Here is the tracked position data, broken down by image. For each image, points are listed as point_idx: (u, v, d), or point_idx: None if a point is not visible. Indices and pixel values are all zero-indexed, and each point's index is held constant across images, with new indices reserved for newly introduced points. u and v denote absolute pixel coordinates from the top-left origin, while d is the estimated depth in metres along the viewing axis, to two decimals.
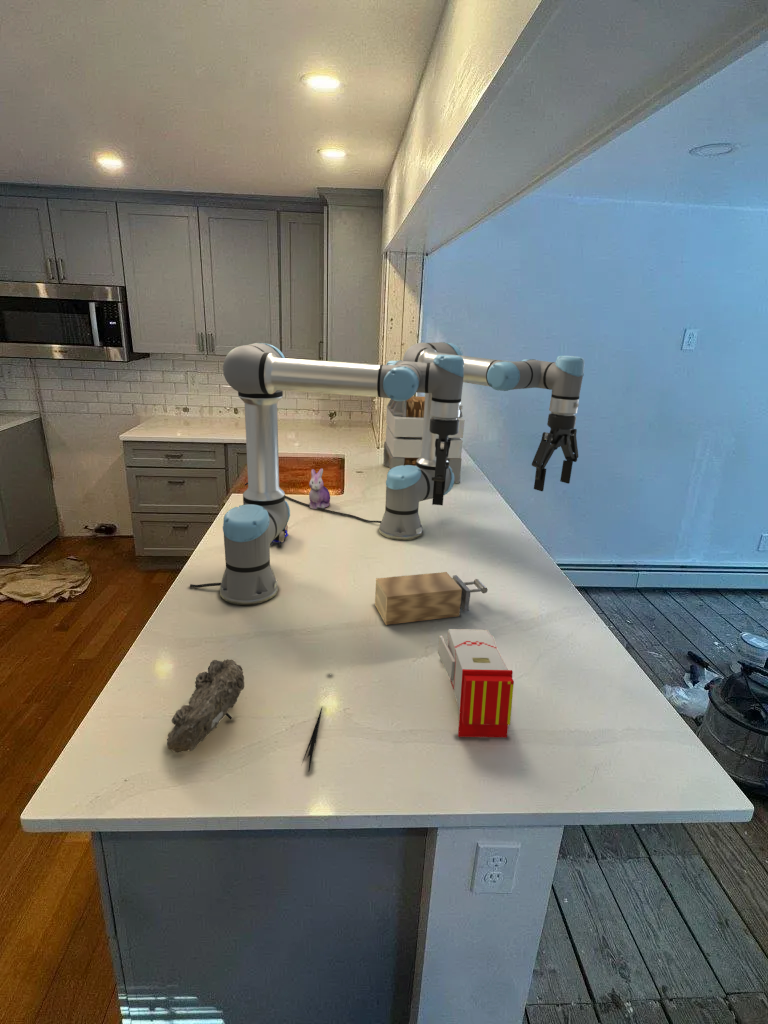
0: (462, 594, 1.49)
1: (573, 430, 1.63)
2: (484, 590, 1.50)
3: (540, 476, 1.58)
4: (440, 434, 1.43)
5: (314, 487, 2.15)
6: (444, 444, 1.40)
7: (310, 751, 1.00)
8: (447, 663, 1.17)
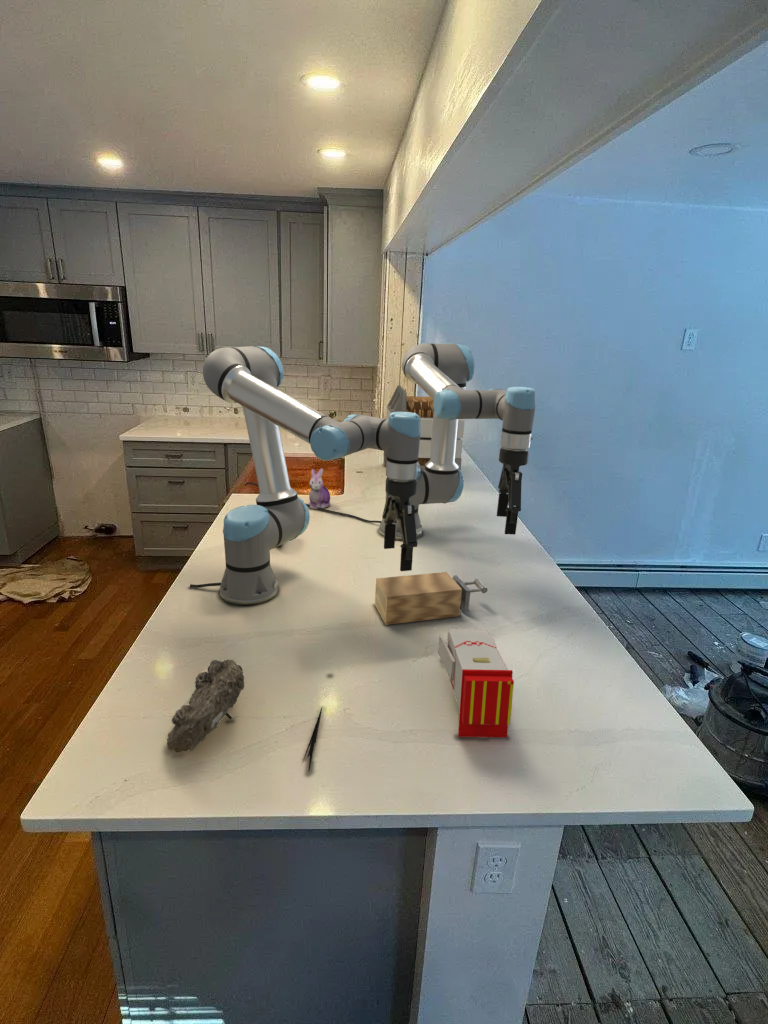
0: (462, 594, 1.49)
1: None
2: (484, 590, 1.50)
3: None
4: (402, 497, 1.33)
5: (314, 487, 2.15)
6: (411, 508, 1.31)
7: (310, 751, 1.00)
8: (447, 663, 1.17)
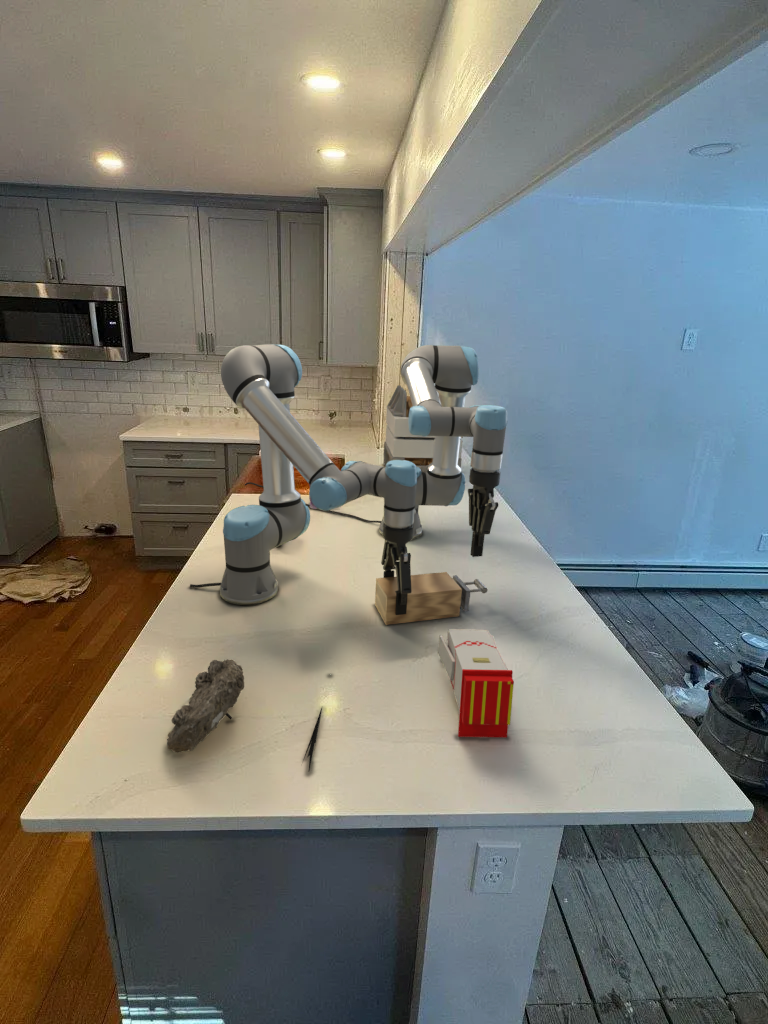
0: (462, 594, 1.49)
1: None
2: (484, 590, 1.50)
3: None
4: (399, 543, 1.37)
5: None
6: (408, 557, 1.35)
7: (310, 751, 1.00)
8: (447, 663, 1.17)
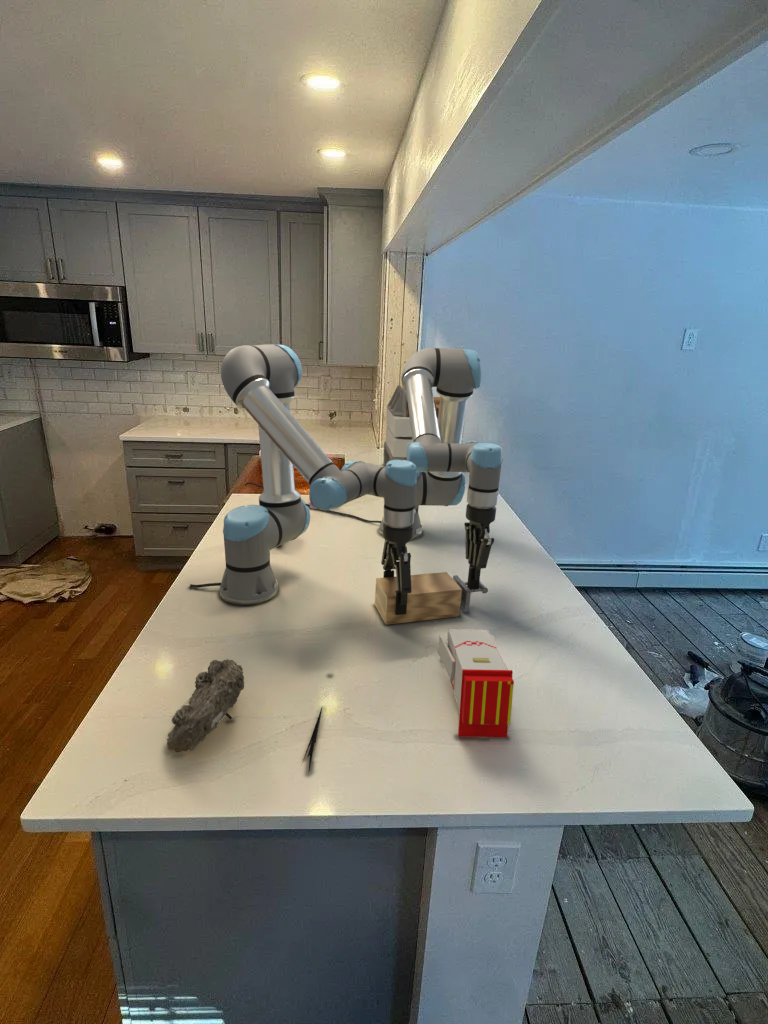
0: (462, 594, 1.49)
1: None
2: (484, 590, 1.50)
3: None
4: (399, 543, 1.37)
5: None
6: (408, 556, 1.35)
7: (310, 751, 1.00)
8: (447, 663, 1.17)
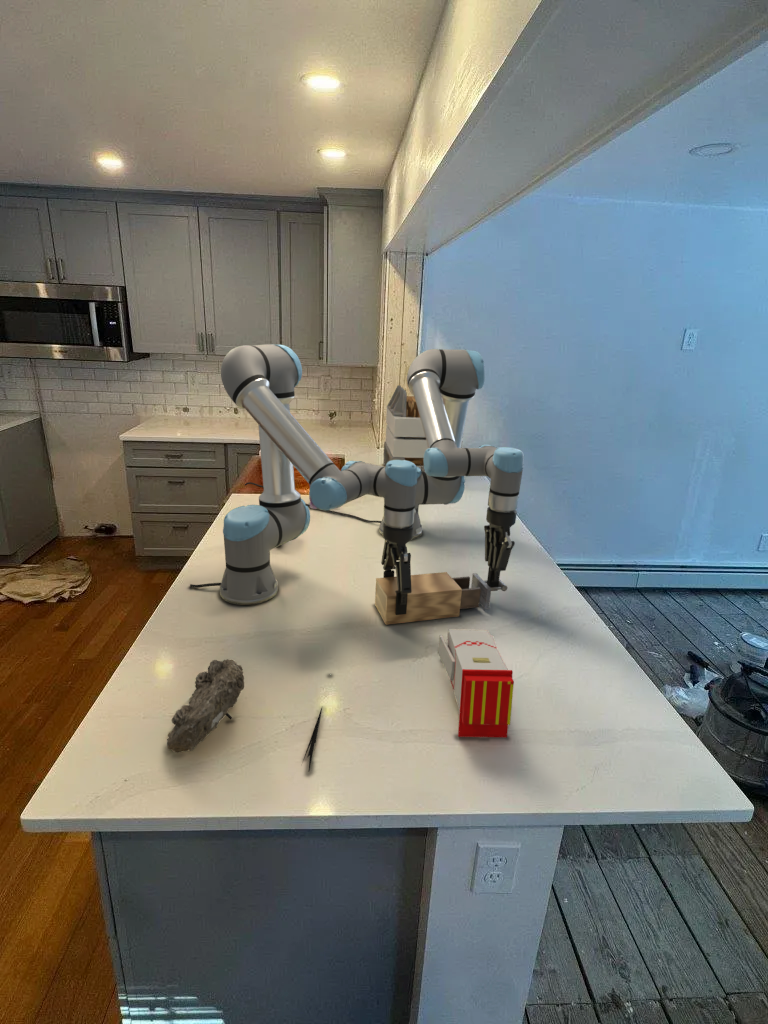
0: (482, 592, 1.51)
1: None
2: (504, 588, 1.52)
3: None
4: (399, 543, 1.37)
5: None
6: (408, 556, 1.35)
7: (310, 751, 1.00)
8: (447, 663, 1.17)
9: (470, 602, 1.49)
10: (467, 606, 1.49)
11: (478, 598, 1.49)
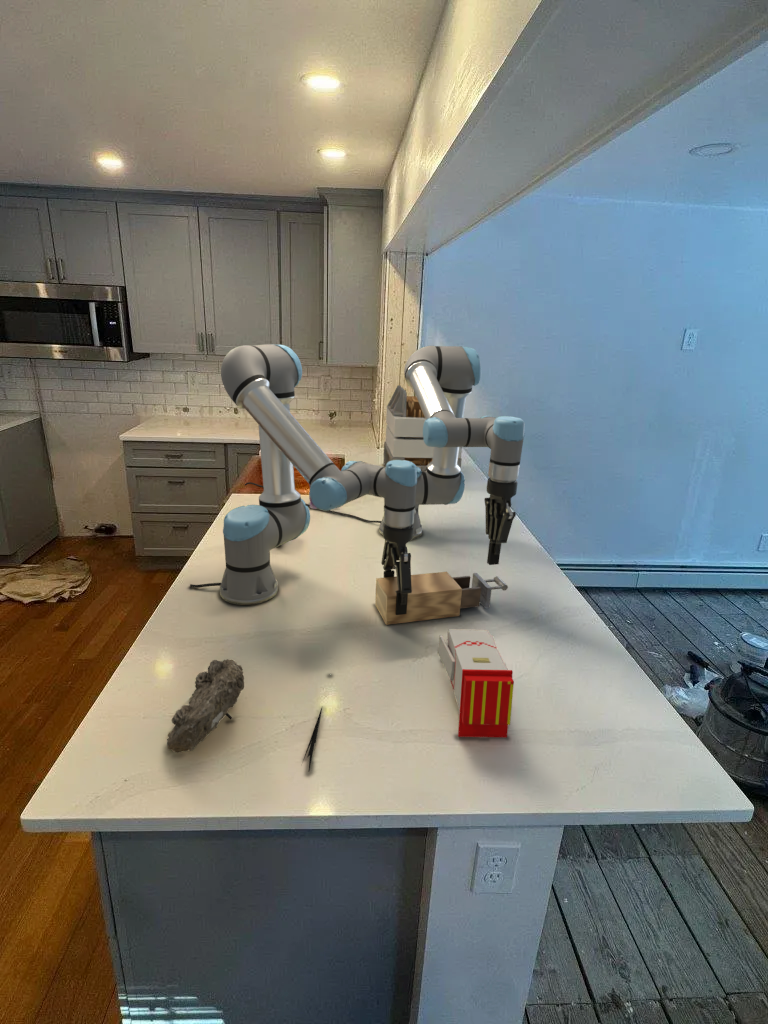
0: (483, 591, 1.51)
1: None
2: (504, 587, 1.52)
3: None
4: (399, 543, 1.37)
5: None
6: (408, 557, 1.35)
7: (310, 751, 1.00)
8: (447, 663, 1.17)
9: (470, 601, 1.49)
10: (468, 605, 1.49)
11: (478, 597, 1.49)
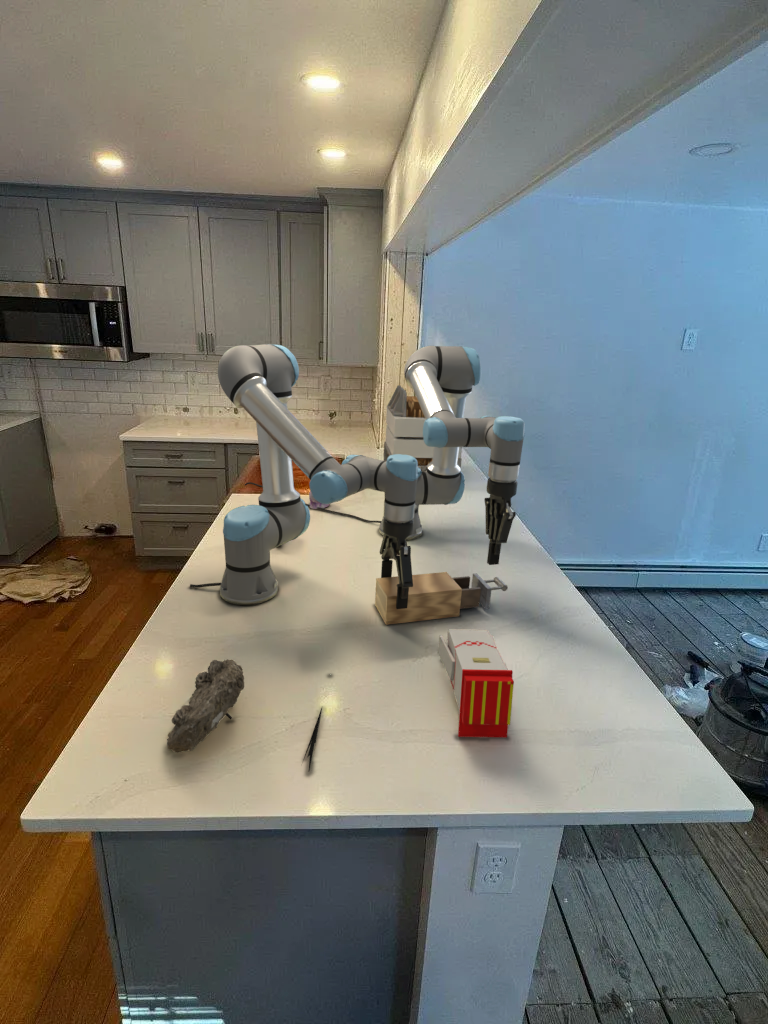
0: (483, 592, 1.51)
1: None
2: (504, 588, 1.52)
3: None
4: (399, 537, 1.37)
5: None
6: (408, 549, 1.35)
7: (310, 751, 1.00)
8: (447, 663, 1.17)
9: (470, 602, 1.49)
10: (467, 606, 1.49)
11: (478, 598, 1.49)
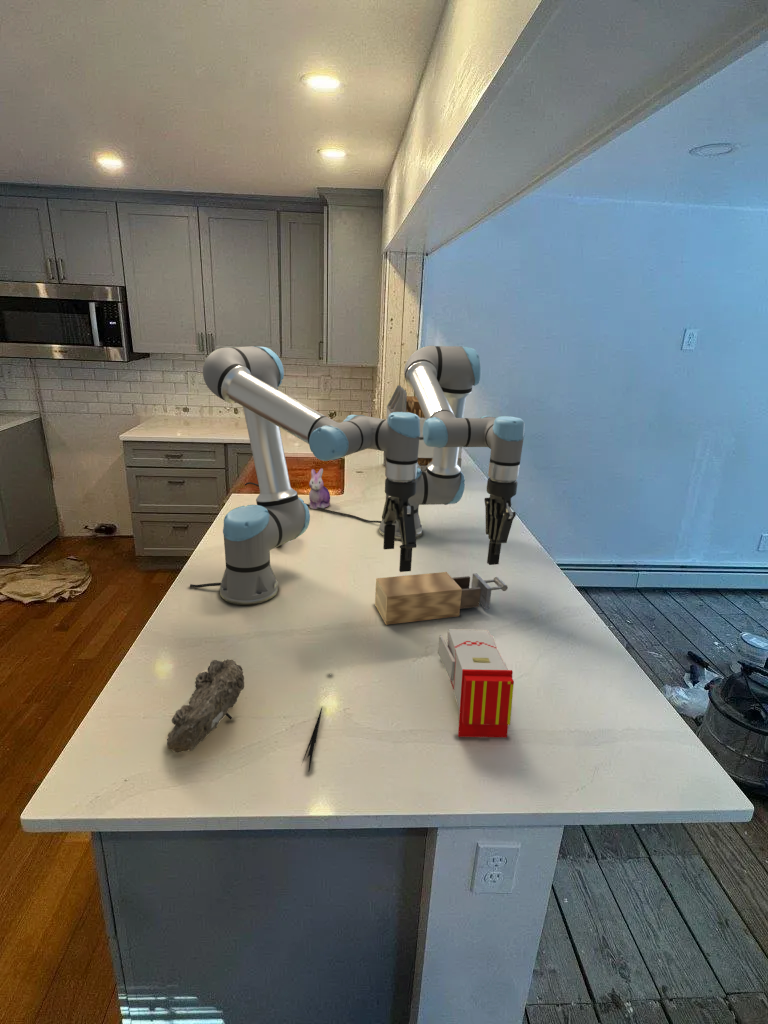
0: (483, 592, 1.51)
1: None
2: (504, 588, 1.52)
3: None
4: (402, 497, 1.33)
5: (314, 487, 2.15)
6: (411, 509, 1.31)
7: (310, 751, 1.00)
8: (447, 663, 1.17)
9: (470, 602, 1.49)
10: (467, 606, 1.49)
11: (478, 598, 1.49)
